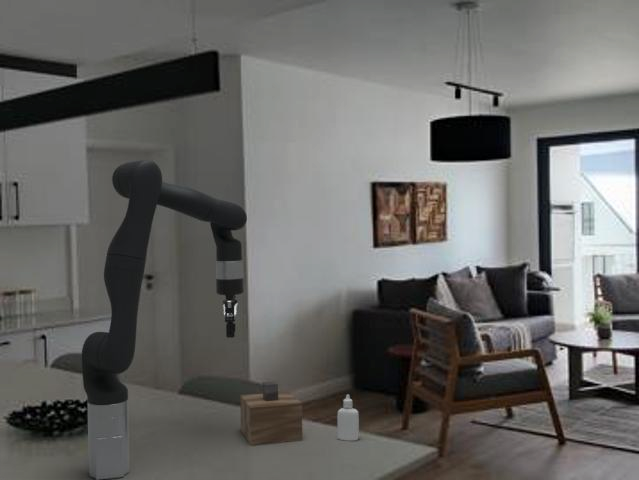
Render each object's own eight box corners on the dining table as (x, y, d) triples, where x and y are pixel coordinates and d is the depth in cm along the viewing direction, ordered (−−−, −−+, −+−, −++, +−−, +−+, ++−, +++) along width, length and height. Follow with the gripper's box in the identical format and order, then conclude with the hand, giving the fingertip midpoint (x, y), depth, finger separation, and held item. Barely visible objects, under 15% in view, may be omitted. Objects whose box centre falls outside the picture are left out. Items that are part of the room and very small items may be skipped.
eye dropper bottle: (346, 435, 200) (345, 391, 200) (361, 439, 196) (361, 395, 196) (335, 438, 197) (334, 394, 197) (350, 443, 193) (349, 398, 193)
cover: (302, 440, 196) (301, 386, 196) (251, 445, 192) (250, 390, 192) (289, 425, 210) (288, 375, 209) (240, 430, 205) (240, 379, 205)
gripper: (242, 279, 196) (244, 338, 197) (243, 274, 210) (244, 330, 211) (214, 279, 196) (216, 339, 196) (217, 274, 210) (218, 330, 211)
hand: (231, 334), depth 204 cm, fingers open, 8 cm apart
